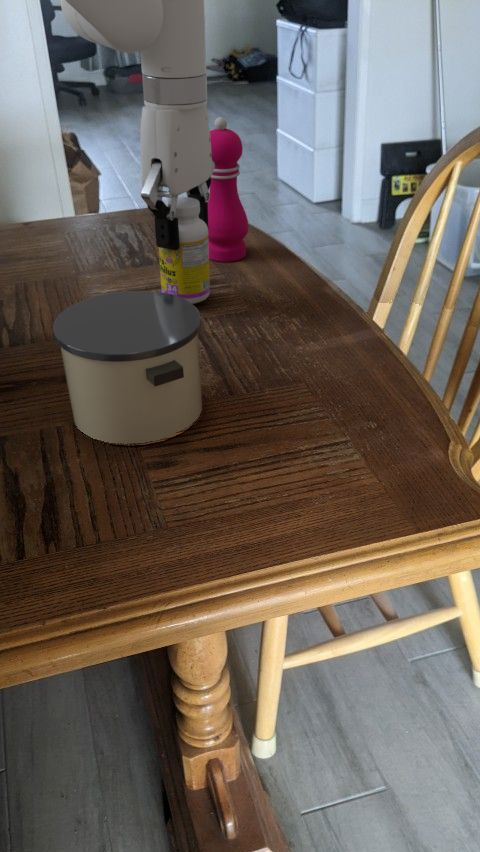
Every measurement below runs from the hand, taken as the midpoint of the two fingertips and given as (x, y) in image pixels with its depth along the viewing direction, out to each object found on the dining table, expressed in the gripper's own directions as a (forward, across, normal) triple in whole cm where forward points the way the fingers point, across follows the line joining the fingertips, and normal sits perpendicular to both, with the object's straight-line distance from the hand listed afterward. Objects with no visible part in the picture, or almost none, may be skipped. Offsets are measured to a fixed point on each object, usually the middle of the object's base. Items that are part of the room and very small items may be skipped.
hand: (183, 238), depth 103 cm
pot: (+9, +27, +10) cm, 30 cm away
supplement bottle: (+8, 0, 0) cm, 8 cm away
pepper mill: (+9, -18, -4) cm, 20 cm away
